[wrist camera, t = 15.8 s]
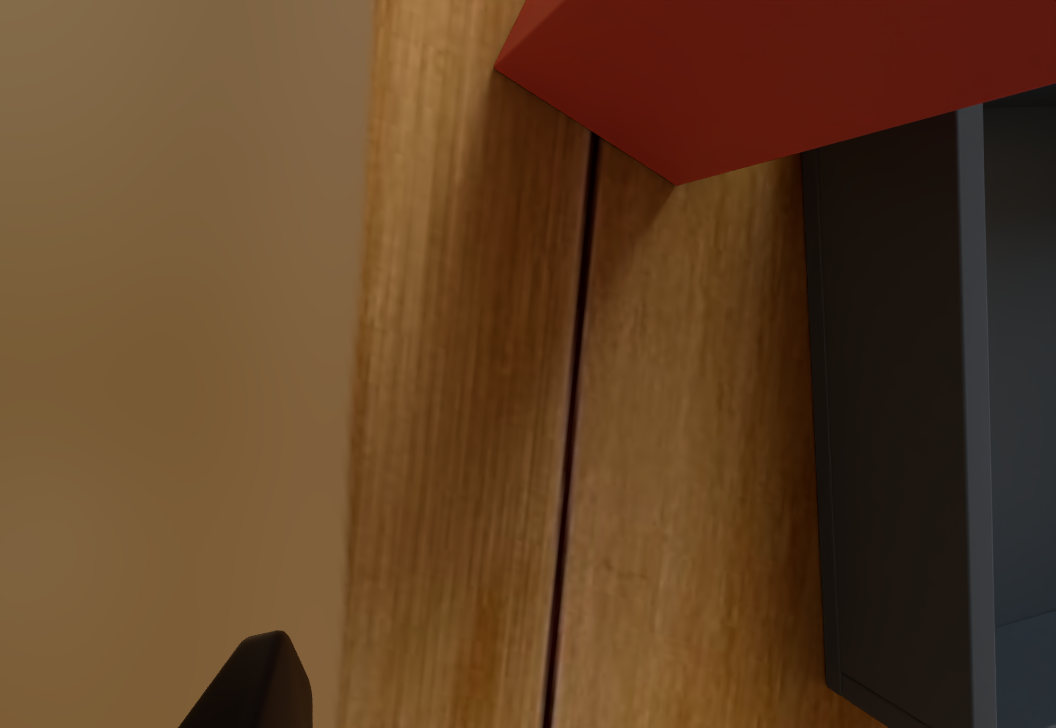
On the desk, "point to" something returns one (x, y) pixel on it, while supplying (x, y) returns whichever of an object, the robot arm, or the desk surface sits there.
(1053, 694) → the dark gray tray
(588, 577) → the desk surface
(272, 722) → the robot arm
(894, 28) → the package
